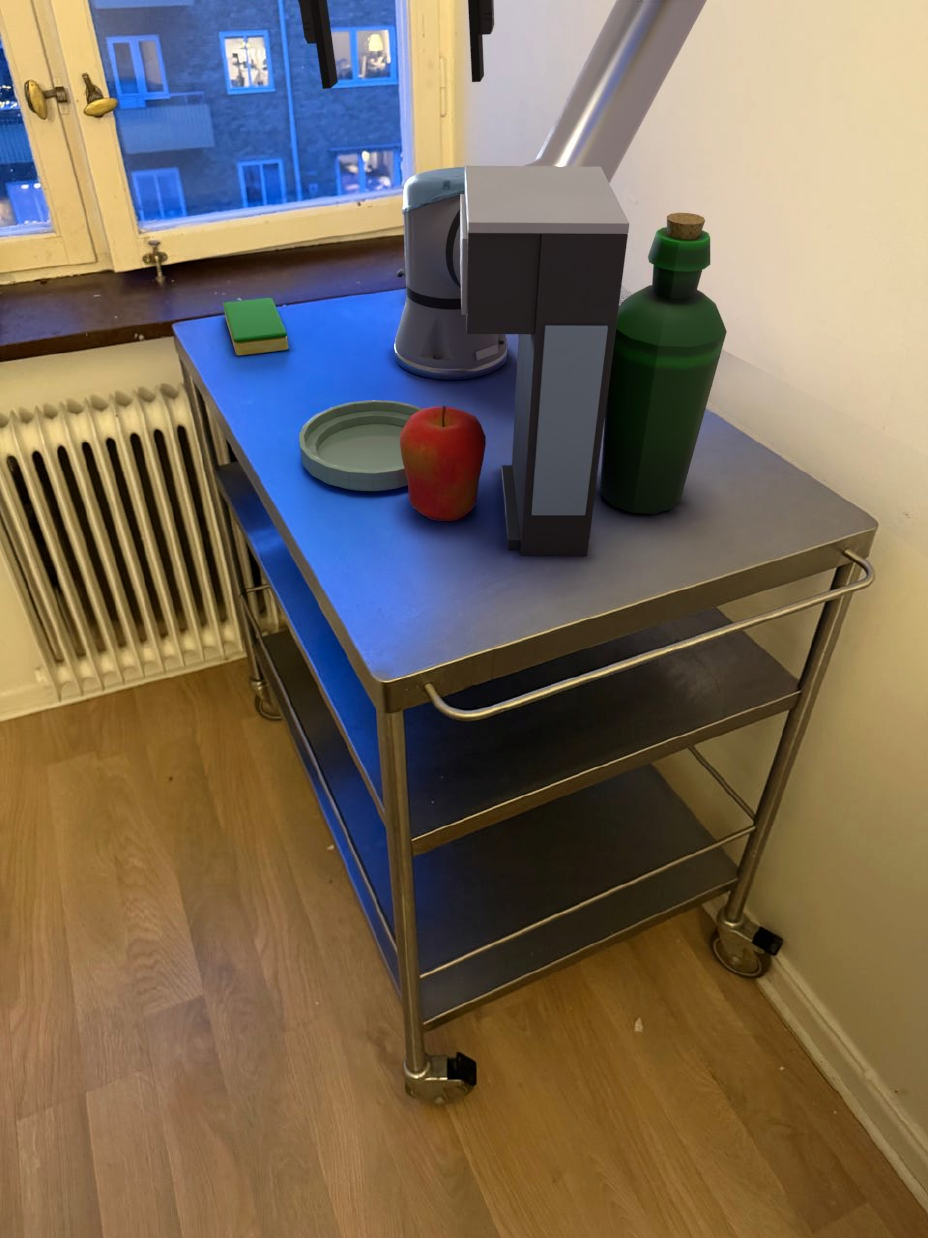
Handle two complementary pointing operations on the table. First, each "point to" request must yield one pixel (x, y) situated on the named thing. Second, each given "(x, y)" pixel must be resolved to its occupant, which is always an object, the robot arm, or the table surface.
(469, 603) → the table surface
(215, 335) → the table surface
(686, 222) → the bottle
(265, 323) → the dish sponge
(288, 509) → the table surface
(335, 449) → the dish
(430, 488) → the apple
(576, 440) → the coffee maker
